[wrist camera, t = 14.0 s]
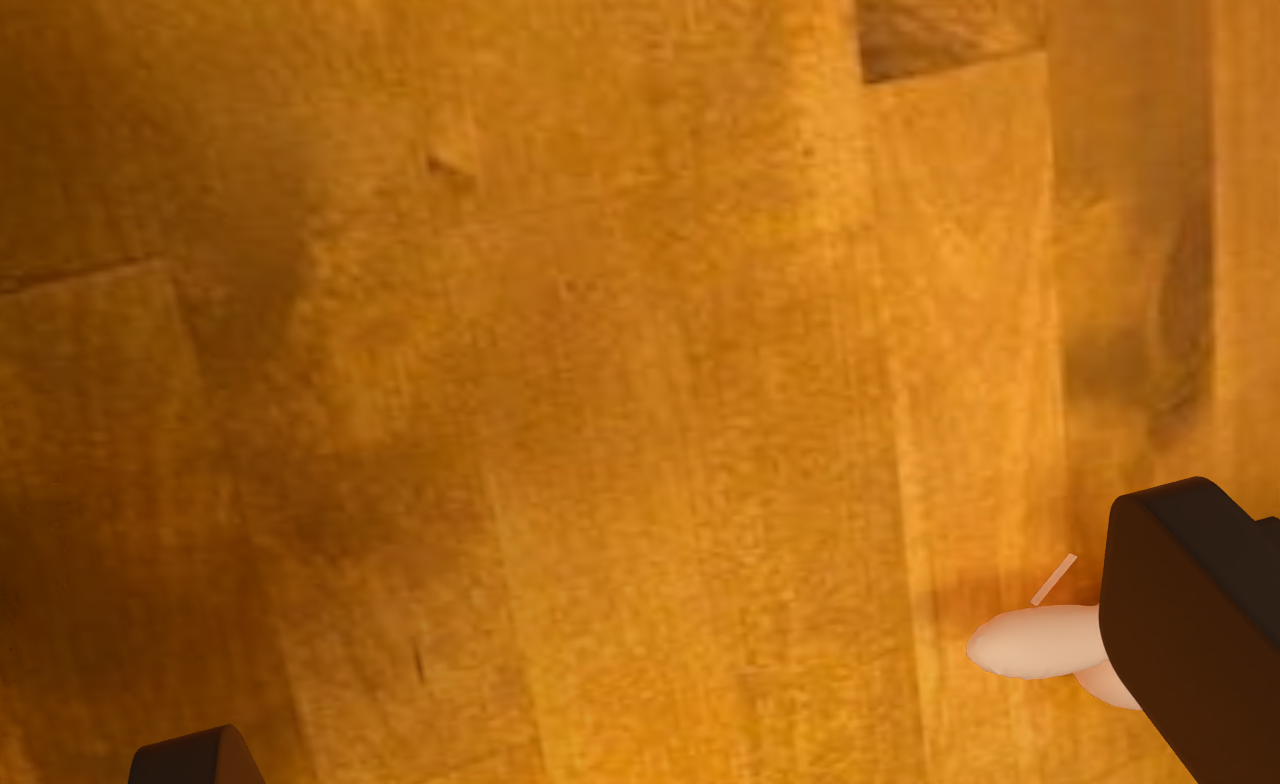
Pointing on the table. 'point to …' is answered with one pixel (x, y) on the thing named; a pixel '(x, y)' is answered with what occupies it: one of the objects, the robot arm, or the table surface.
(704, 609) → the table surface
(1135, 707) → the rabbit figurine
